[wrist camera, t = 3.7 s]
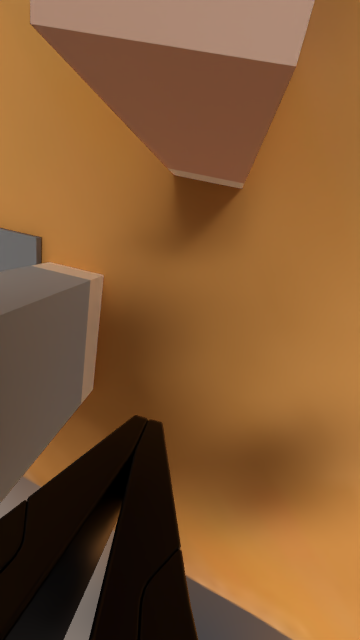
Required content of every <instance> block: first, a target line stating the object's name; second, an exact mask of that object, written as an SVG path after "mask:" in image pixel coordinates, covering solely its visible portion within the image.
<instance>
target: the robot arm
mask: <svg viewBox="0 0 360 640" xmlns="http://www.w3.org/2000/svg"><path fill="white" fill-rule="evenodd" d="M117 519H118V521H117ZM116 521H117V525H116V529H115V533H114V538H113V542H112V546H111V550H110V554H109V558H108V563H107V566H106V571H105V575H104V579H103V583H102V587H101V591H100V596H99V600H98V604H97V608H96V612H95V617H94V621H93V625H92V629H91V633H90V637H89V640H198V636H197V632H196V627H195V623H194V618H193V614H192V609H191V604H190V599H189V593H188V587H187V581H186V576H185V570H184V563H183V556H182V551H181V550H180V548H181V544H180V537H179V531H178V524H177V517H176V510H175V504H174V497H173V490H172V484H171V477H170V470H169V463H168V457H167V450H166V443H165V436H164V430H163V424H162V423H161V422H159V421H155V420H152V419H150V420H149V421H148V419H147V418H145V417H141V416H137V415H135V416H133V417H132V418H131V419H129V420H128V421H127V422H125V423H124V424H123V425H122V426H120V427H119V428H118V429H116V430H115V431H114V432H113V433H111V434H110V435H109V436H107V437H106V438H105V439H103V440H102V441H101V442H100V443H98V444H97V445H96V446H94V447H93V448H92V449H90V450H89V451H88V452H87V453H85V454H84V455H83V456H81V457H80V458H79V459H78V460H76V461H75V462H74V463H72V464H71V465H70V466H68V467H67V468H66V469H65V470H63V471H62V472H61V473H59V474H58V475H57V476H55V477H54V478H53V479H52V480H50V481H49V482H48V483H46V484H45V485H44V486H42V487H41V488H40V489H39V490H37V491H36V492H35V493H33V494H32V495H31V496H30V497H29V498H28V499H27V501H26V500H24V501H23V502H21V503H20V504H19V505H18V506H16V507H15V508H14V509H12V510H11V511H10V512H9V513H7V514H6V515H5V516H3V517H2V518H1V519H0V640H64V638H65V635H66V633H67V631H68V629H69V626H70V624H71V622H72V619H73V617H74V615H75V613H76V611H77V608H78V606H79V604H80V602H81V599H82V597H83V595H84V593H85V590H86V588H87V586H88V584H89V582H90V579H91V577H92V575H93V573H94V570H95V568H96V566H97V563H98V561H99V559H100V557H101V555H102V552H103V550H104V548H105V546H106V543H107V541H108V539H109V536H110V534H111V532H112V530H113V528H114V526H115V523H116Z"/></svg>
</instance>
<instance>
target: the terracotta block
mask: <svg viewBox="0 0 360 640" xmlns="http://www.w3.org/2000/svg"><path fill="white" fill-rule="evenodd" d="M314 1H315V0H30V24H31V25H32V26H33V27H34V28H35V29H36V30H37V31H38V32H39V33H40V34H41V35H42V37H43V38H44V39H45V40H46V41H47V42H48V43H49V44H50V45H51V46H52V47H53V48H54V49H55V50H56V51H57V52H58V53H59V54H60V55H61V57H62V58H63V59H64V60H65V61H66V62H67V63H68V64H69V65H70V66H71V67H72V68H73V69H74V70H75V71H76V72H77V73H78V74H79V76H80V77H81V78H82V79H83V80H84V81H85V82H86V83H87V84H88V85H89V86H90V87H91V88H92V89H93V90H94V91H95V92H96V93H97V94H98V96H99V97H100V98H101V99H102V100H103V101H104V102H105V103H106V104H107V105H108V106H109V107H110V108H111V109H112V110H113V111H114V112H115V113H116V114H117V116H118V117H119V118H120V119H121V120H122V121H123V122H124V123H125V124H126V125H127V126H128V127H129V128H130V129H131V130H132V131H133V132H134V133H135V135H136V136H137V137H138V138H139V139H140V140H141V141H142V142H143V143H144V144H145V145H146V146H147V147H148V148H149V149H150V150H151V151H152V152H153V153H154V155H155V156H156V157H157V158H158V159H159V160H160V161H161V162H162V163H163V164H164V165H165V166H166V167H167V168H168V169H169V170H170V171H171V172H172V174H173V175H176V176H181V177H186V178H191V179H196V180H201V181H206V182H210V183H215V184H220V185H225V186H230V187H235V188H240V189H242V188H243V185H244V183H245V181H246V178H247V176H248V174H249V172H250V169H251V167H252V165H253V163H254V160H255V158H256V156H257V154H258V151H259V149H260V147H261V145H262V142H263V140H264V138H265V136H266V133H267V131H268V129H269V127H270V124H271V122H272V120H273V117H274V115H275V113H276V111H277V108H278V106H279V104H280V102H281V99H282V97H283V95H284V93H285V90H286V88H287V86H288V84H289V81H290V79H291V77H292V75H293V72H294V70H295V68H296V65H297V61H298V58H299V54H300V51H301V47H302V44H303V40H304V37H305V33H306V30H307V26H308V22H309V19H310V15H311V12H312V8H313V5H314Z"/></svg>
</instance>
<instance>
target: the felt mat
mask: <svg viewBox="0 0 360 640" xmlns="http://www.w3.org/2000/svg"><path fill="white" fill-rule="evenodd" d="M37 264H41V237H37V236H33V235H29V234H25V233H20V232H16V231H12V230H7V229H3V228H0V272H1V271H6V270H11V269H17V268H22V267H27V266H32V265H37Z"/></svg>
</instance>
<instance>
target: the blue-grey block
mask: <svg viewBox="0 0 360 640" xmlns="http://www.w3.org/2000/svg"><path fill="white" fill-rule="evenodd" d="M103 279H104V275H102V274H97V273H93V272H89V271H85V270H81V269H77V268H72V267H68V266H64V265H60V264H56V263H52V262H48V263H43V264H37V265H32V266H27V267H22V268H17V269H11V270H6V271H1V272H0V503H1V502H2V500H3V499H4V498H5V497H6V496H7V494H8V493H9V492H10V491H11V489H12V488H13V487H14V486H15V485H16V483H17V482H18V481H19V480H20V478H21V477H22V476H23V475H24V474H25V472H26V471H27V470H28V469H29V467H30V466H31V465H32V464H33V463H34V461H35V460H36V459H37V458H38V456H39V455H40V454H41V453H42V451H43V450H44V449H45V448H46V447H47V445H48V444H49V443H50V442H51V440H52V439H53V438H54V437H55V436H56V434H57V433H58V432H59V431H60V429H61V428H62V427H63V426H64V424H65V423H66V422H67V421H68V420H69V418H70V417H71V416H72V415H73V413H74V412H75V411H76V410H77V409H78V407H79V406H80V405H81V404H82V402H83V401H84V400H85V399H86V397H87V396H88V395H89V394H90V393H91V391H92V390H93V384H94V374H95V363H96V353H97V342H98V332H99V321H100V311H101V300H102V290H103Z"/></svg>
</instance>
